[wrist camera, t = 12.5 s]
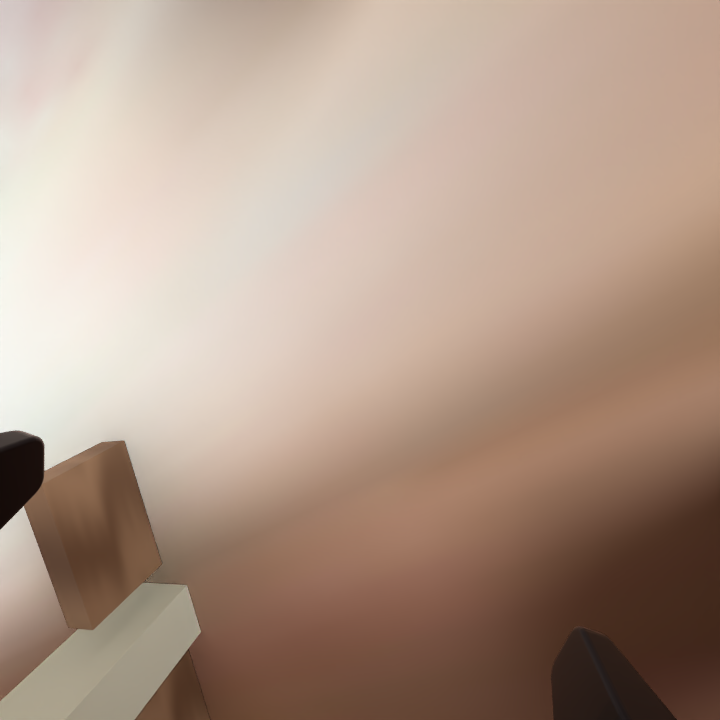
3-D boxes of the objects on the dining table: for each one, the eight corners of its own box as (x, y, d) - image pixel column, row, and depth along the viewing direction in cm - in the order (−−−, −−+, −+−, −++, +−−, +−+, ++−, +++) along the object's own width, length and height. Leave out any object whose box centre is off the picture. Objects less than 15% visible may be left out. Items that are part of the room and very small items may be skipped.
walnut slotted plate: (101, 442, 24) (16, 485, 19) (124, 440, 23) (41, 484, 19) (198, 747, 27) (145, 837, 23) (219, 751, 27) (169, 844, 23)
